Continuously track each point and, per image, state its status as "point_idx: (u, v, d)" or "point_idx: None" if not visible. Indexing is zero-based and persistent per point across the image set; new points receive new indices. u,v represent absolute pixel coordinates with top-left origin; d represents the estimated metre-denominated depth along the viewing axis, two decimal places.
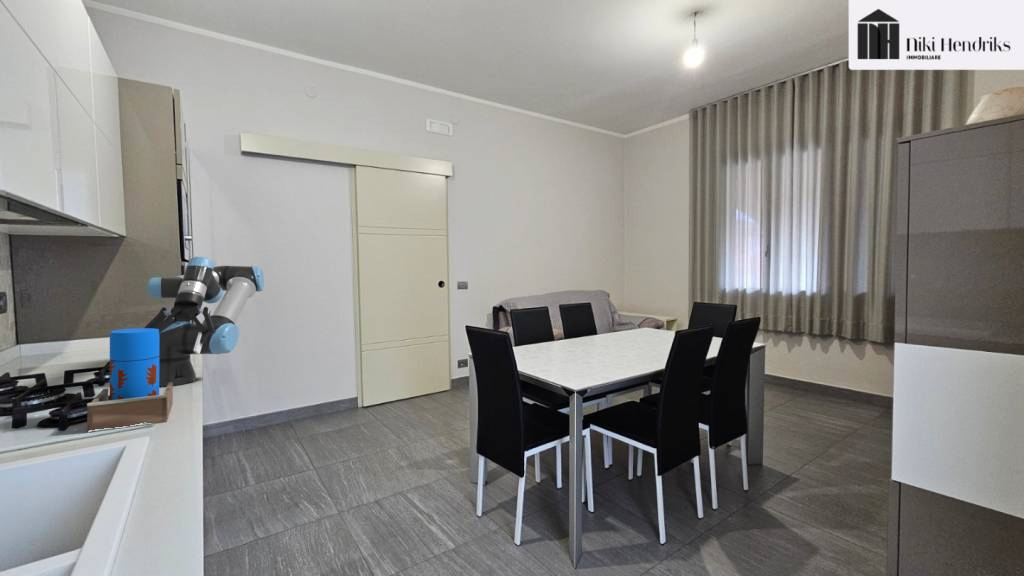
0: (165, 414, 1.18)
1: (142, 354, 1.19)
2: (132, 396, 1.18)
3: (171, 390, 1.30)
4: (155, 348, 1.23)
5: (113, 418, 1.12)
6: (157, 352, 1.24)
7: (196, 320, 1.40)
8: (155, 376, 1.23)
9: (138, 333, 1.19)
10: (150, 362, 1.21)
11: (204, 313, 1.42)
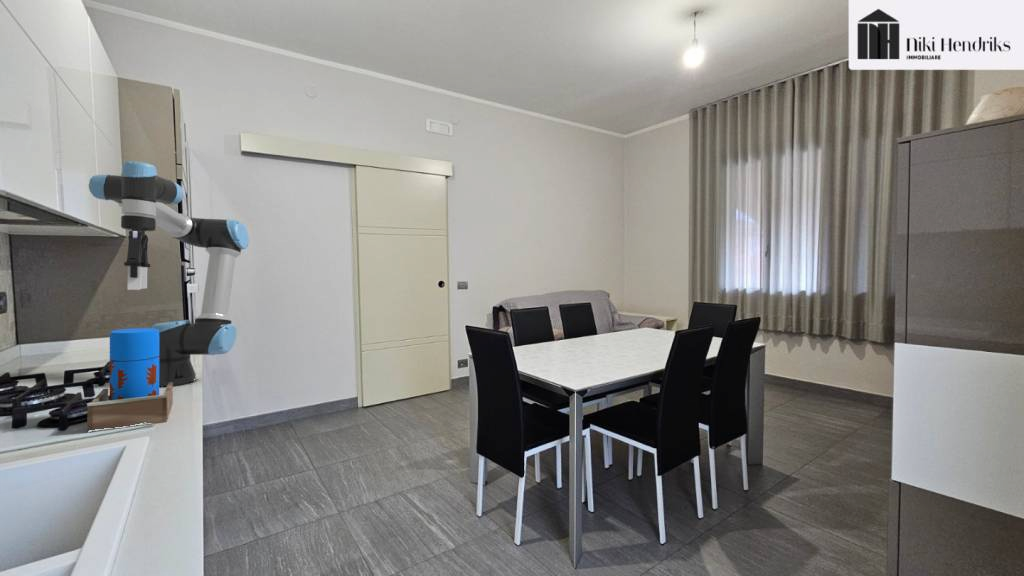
0: (165, 414, 1.18)
1: (142, 354, 1.19)
2: (132, 396, 1.18)
3: (171, 390, 1.30)
4: (155, 348, 1.23)
5: (113, 418, 1.12)
6: (157, 352, 1.24)
7: None
8: (155, 376, 1.23)
9: (138, 333, 1.19)
10: (150, 362, 1.21)
11: None
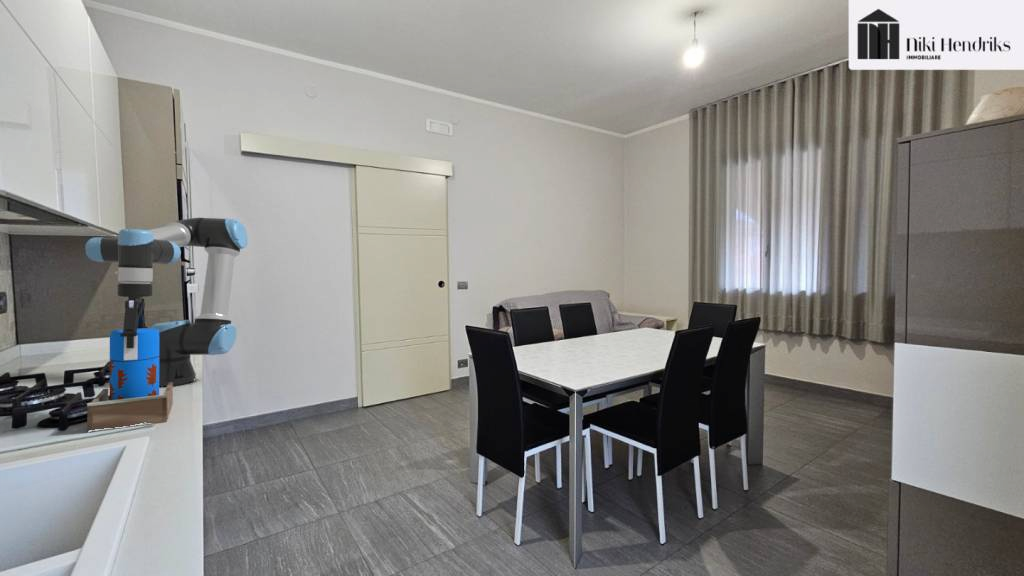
0: (165, 414, 1.18)
1: (142, 354, 1.19)
2: (132, 396, 1.18)
3: (171, 390, 1.30)
4: (155, 348, 1.23)
5: (113, 418, 1.12)
6: (157, 352, 1.24)
7: None
8: (155, 376, 1.23)
9: (138, 333, 1.19)
10: (150, 362, 1.21)
11: None
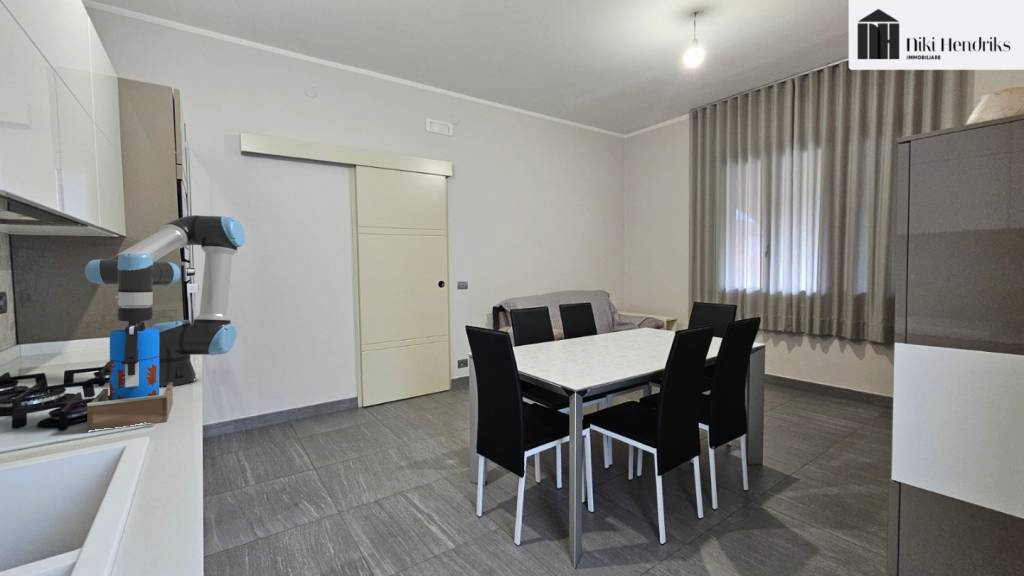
0: (165, 414, 1.18)
1: (142, 354, 1.19)
2: (132, 396, 1.18)
3: (171, 390, 1.30)
4: (155, 348, 1.23)
5: (113, 418, 1.12)
6: (157, 352, 1.24)
7: None
8: (155, 376, 1.23)
9: (138, 333, 1.19)
10: (150, 362, 1.21)
11: (126, 336, 1.16)
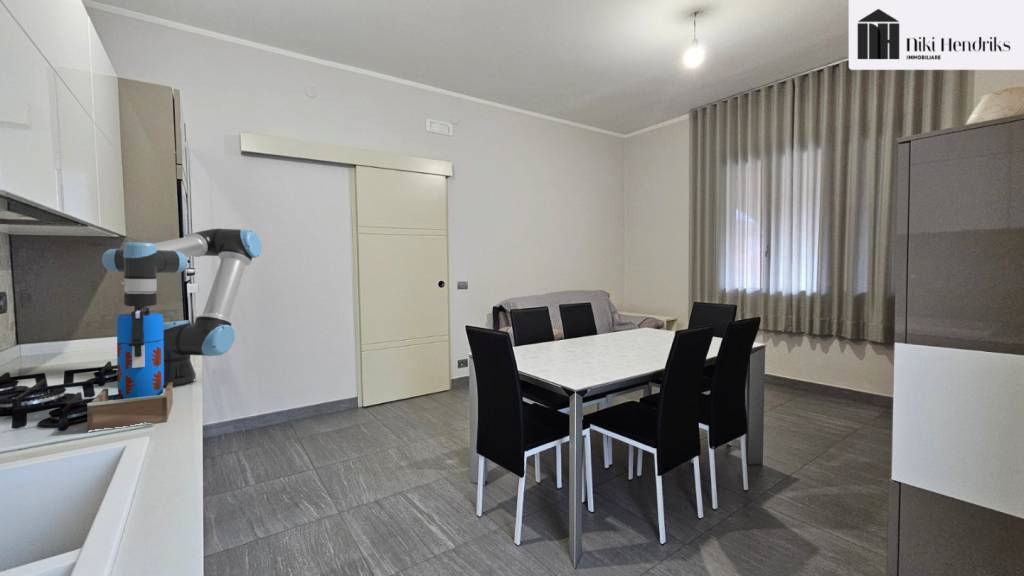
0: (165, 414, 1.18)
1: (148, 337, 1.27)
2: (138, 376, 1.26)
3: (171, 390, 1.30)
4: (160, 331, 1.30)
5: (113, 418, 1.12)
6: (161, 335, 1.31)
7: None
8: (160, 358, 1.31)
9: (144, 317, 1.26)
10: (155, 345, 1.29)
11: None
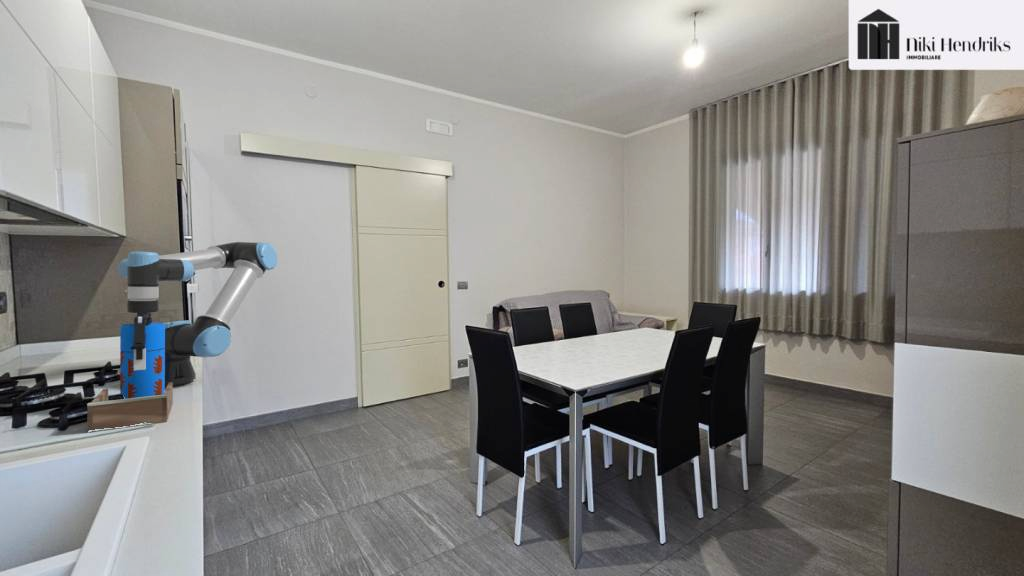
0: (165, 414, 1.18)
1: (149, 346, 1.32)
2: (140, 383, 1.31)
3: (171, 390, 1.30)
4: (161, 340, 1.36)
5: (113, 418, 1.12)
6: (163, 344, 1.37)
7: None
8: (161, 366, 1.36)
9: (146, 327, 1.31)
10: (157, 353, 1.34)
11: (135, 325, 1.29)
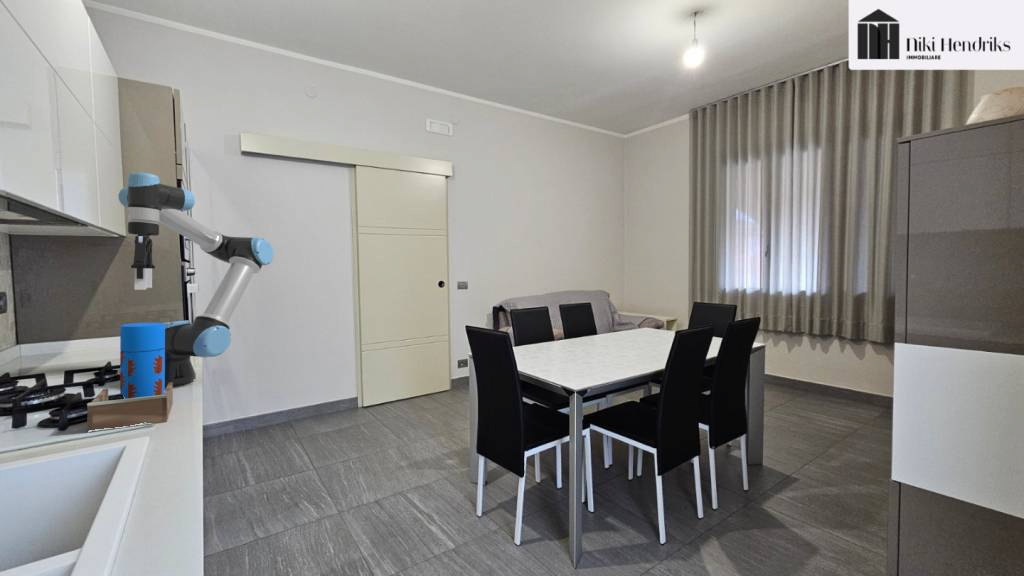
0: (165, 414, 1.18)
1: (149, 346, 1.32)
2: (140, 383, 1.31)
3: (171, 390, 1.30)
4: (161, 340, 1.36)
5: (113, 418, 1.12)
6: (163, 344, 1.37)
7: None
8: (161, 366, 1.36)
9: (146, 327, 1.31)
10: (157, 353, 1.34)
11: None
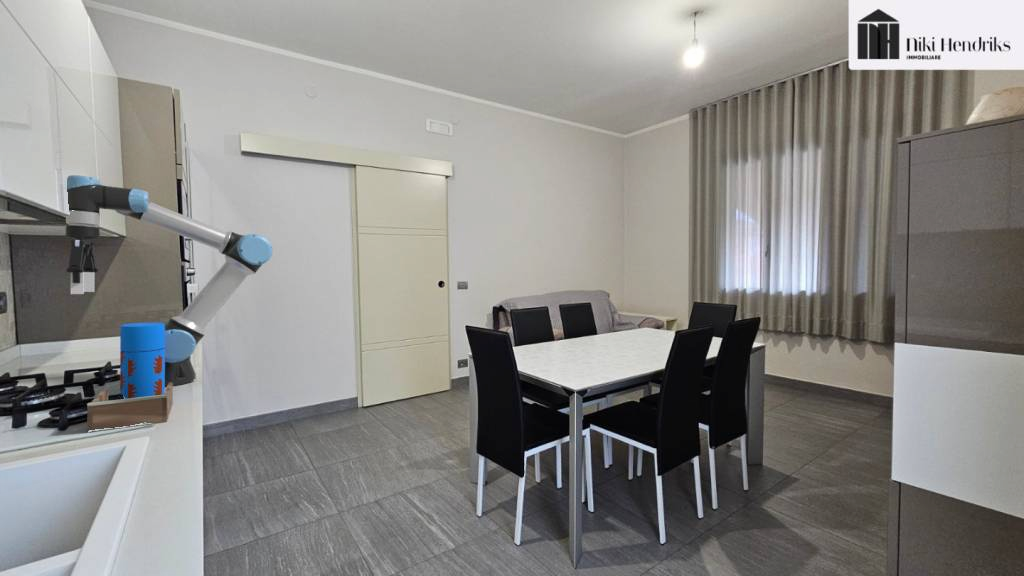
0: (165, 414, 1.18)
1: (149, 346, 1.32)
2: (140, 383, 1.31)
3: (171, 390, 1.30)
4: (161, 340, 1.36)
5: (113, 418, 1.12)
6: (163, 344, 1.37)
7: None
8: (161, 366, 1.36)
9: (146, 327, 1.32)
10: (157, 353, 1.34)
11: None
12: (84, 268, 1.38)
